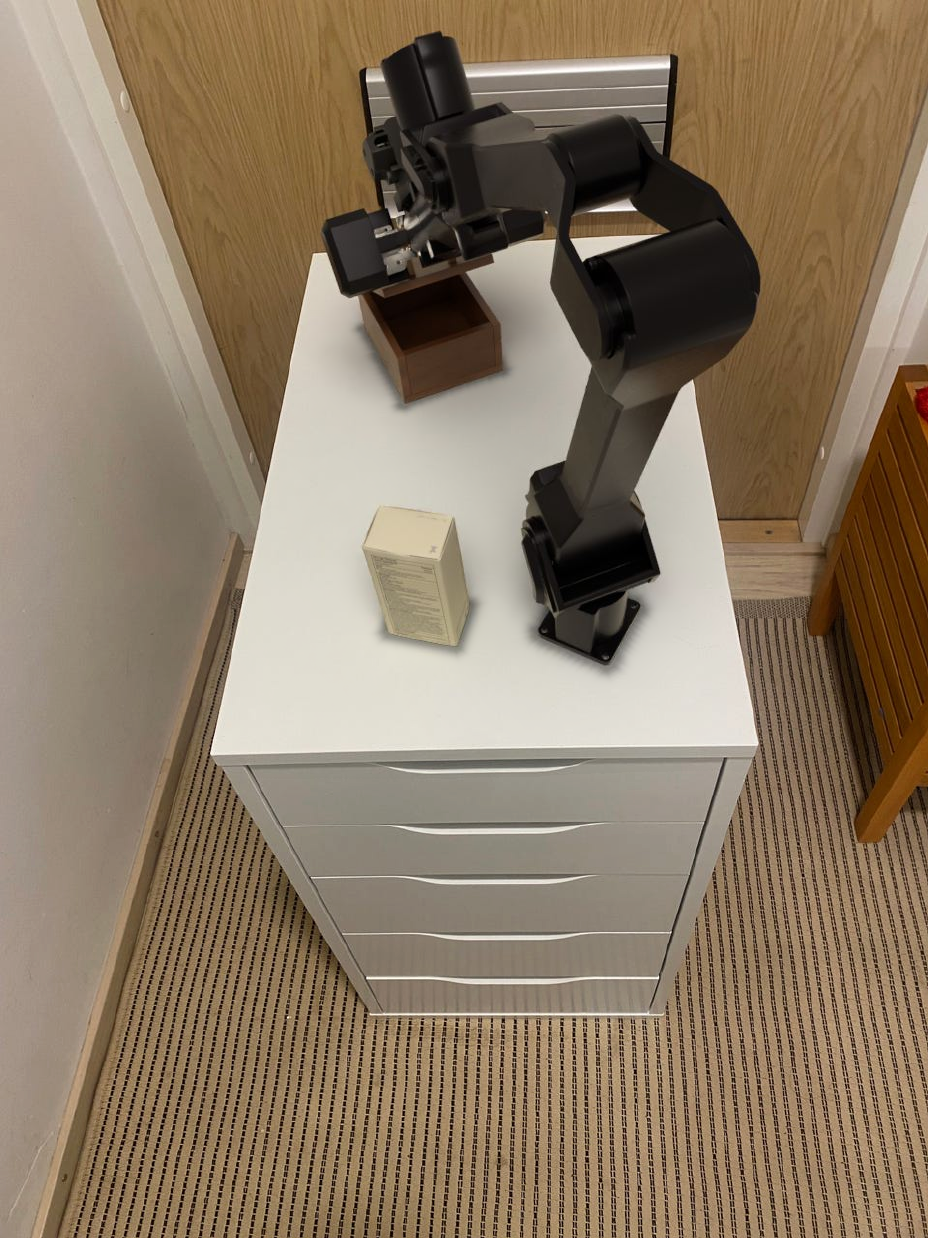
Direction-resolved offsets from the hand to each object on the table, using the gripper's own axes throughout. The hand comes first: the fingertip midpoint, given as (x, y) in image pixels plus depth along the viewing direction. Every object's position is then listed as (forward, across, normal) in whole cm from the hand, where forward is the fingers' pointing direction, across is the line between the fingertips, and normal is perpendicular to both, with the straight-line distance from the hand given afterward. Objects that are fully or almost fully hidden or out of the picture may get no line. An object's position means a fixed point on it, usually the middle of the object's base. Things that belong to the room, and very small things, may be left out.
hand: (418, 249), depth 88 cm
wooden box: (+8, 0, +8) cm, 12 cm away
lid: (+2, 0, +2) cm, 3 cm away
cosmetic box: (-14, +12, +30) cm, 36 cm away
